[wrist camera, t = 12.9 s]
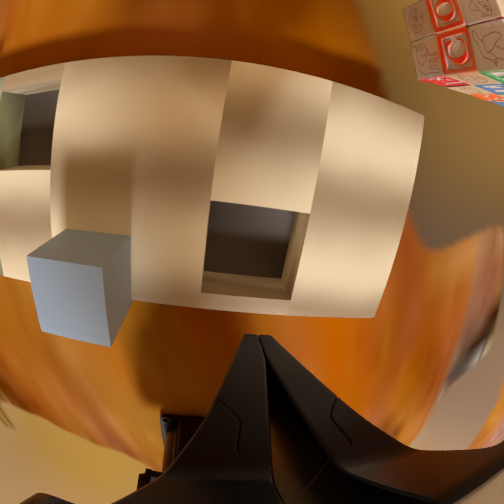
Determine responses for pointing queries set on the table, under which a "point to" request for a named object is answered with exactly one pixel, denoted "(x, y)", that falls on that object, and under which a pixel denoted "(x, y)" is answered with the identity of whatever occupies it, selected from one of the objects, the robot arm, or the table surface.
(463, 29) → the stack of blocks
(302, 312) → the board
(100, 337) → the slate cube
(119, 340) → the table surface
